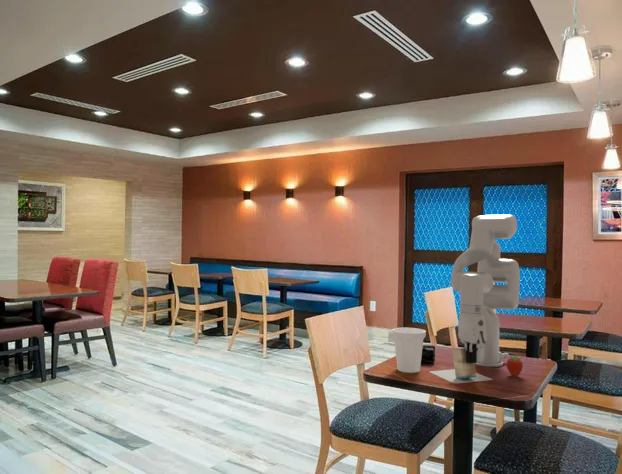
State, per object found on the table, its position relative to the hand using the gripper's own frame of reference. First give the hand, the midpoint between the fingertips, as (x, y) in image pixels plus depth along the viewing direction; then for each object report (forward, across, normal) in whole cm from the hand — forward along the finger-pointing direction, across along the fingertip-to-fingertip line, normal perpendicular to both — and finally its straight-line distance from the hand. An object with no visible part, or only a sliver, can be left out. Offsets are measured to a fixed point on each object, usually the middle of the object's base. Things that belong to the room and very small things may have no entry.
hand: (471, 362), depth 166 cm
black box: (+7, +30, +1) cm, 31 cm away
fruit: (+7, +1, -20) cm, 21 cm away
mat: (+7, +8, -1) cm, 10 cm away
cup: (+7, +20, +13) cm, 25 cm away
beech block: (+6, +3, 0) cm, 6 cm away
